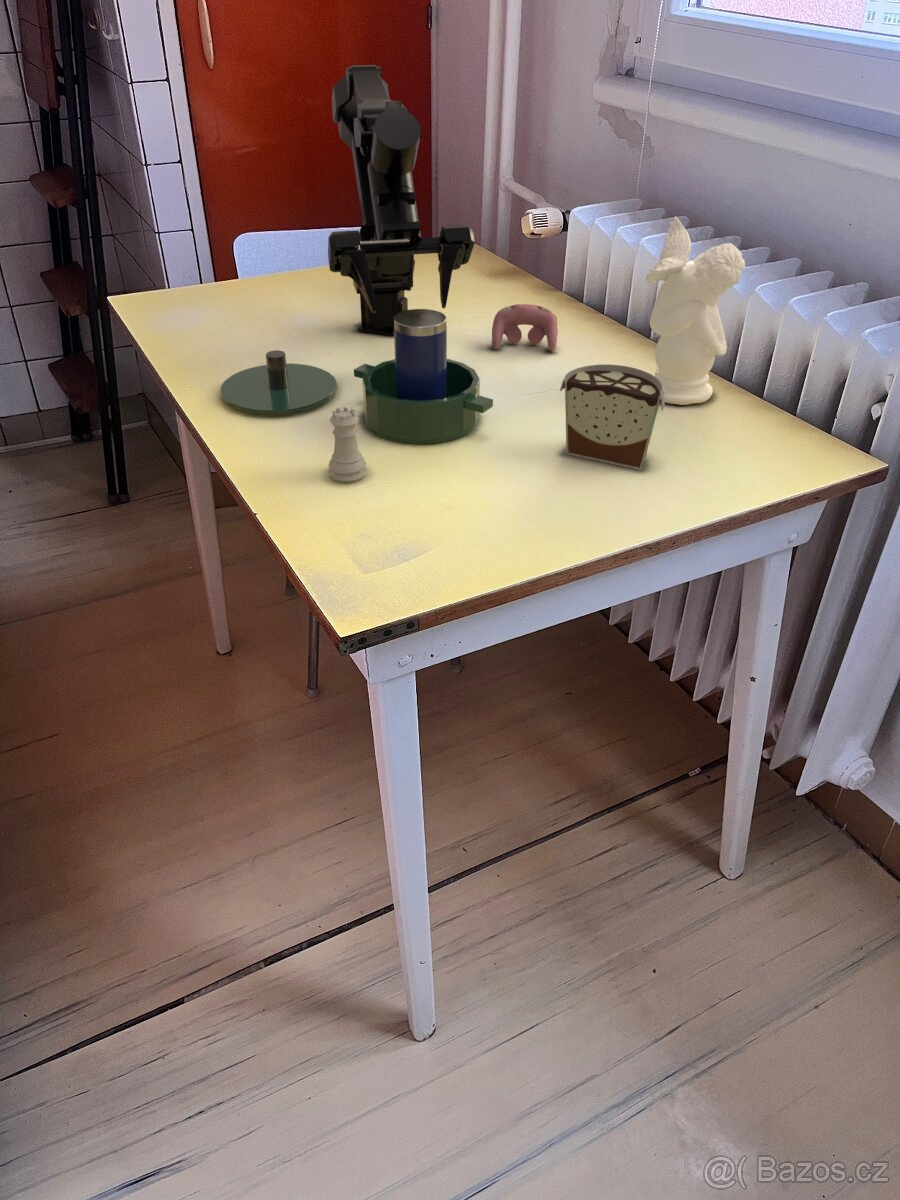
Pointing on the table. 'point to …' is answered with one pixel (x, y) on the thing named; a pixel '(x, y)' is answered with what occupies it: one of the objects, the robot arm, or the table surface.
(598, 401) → the food container
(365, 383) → the pot
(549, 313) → the video game controller
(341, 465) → the rook chess piece
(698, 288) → the cherub figurine
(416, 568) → the table surface
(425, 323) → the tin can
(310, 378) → the pot lid
